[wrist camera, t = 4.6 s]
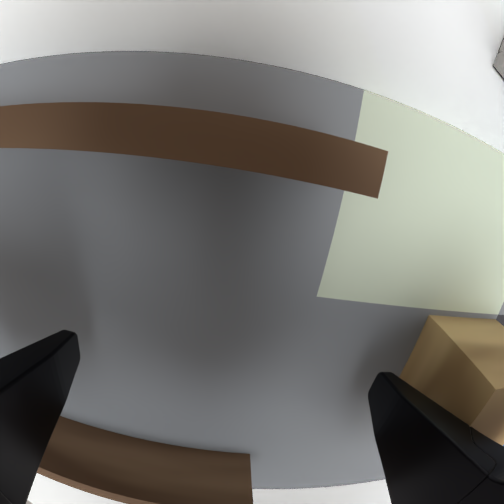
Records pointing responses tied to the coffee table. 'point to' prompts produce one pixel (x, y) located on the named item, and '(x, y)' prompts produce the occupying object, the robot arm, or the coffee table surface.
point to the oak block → (462, 370)
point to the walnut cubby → (197, 151)
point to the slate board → (242, 263)
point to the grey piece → (500, 60)
